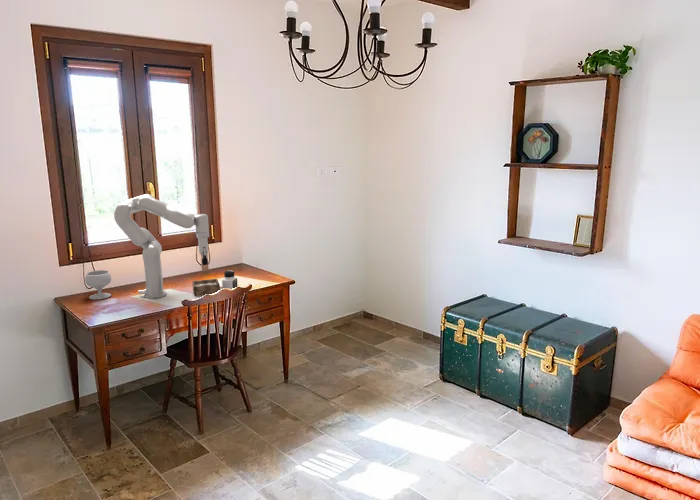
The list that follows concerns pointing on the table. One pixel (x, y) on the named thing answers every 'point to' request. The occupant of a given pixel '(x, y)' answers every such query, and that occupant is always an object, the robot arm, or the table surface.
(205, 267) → the peg
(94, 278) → the chalice
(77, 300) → the table surface
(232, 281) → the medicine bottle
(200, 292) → the bore box
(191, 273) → the table surface
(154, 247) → the robot arm
